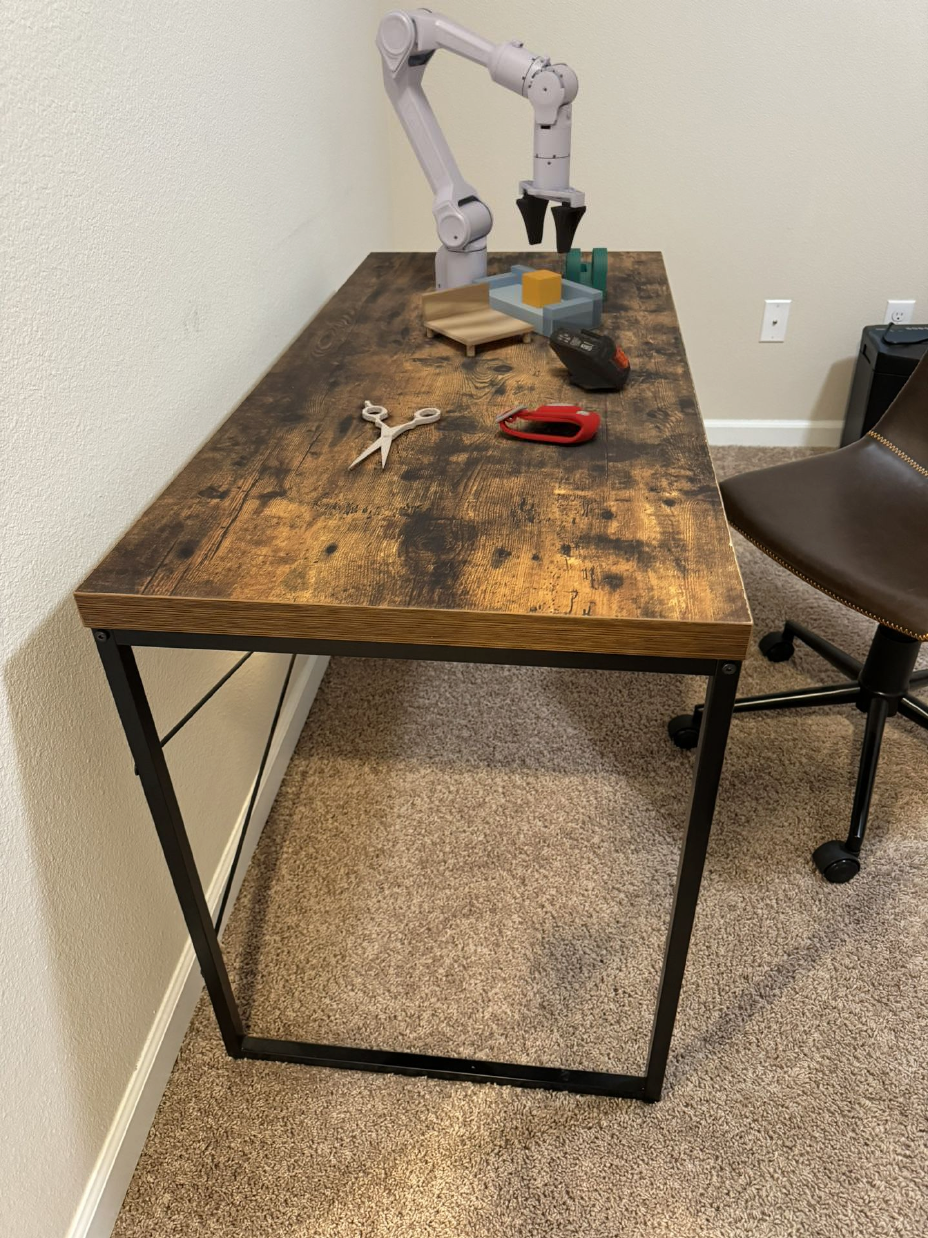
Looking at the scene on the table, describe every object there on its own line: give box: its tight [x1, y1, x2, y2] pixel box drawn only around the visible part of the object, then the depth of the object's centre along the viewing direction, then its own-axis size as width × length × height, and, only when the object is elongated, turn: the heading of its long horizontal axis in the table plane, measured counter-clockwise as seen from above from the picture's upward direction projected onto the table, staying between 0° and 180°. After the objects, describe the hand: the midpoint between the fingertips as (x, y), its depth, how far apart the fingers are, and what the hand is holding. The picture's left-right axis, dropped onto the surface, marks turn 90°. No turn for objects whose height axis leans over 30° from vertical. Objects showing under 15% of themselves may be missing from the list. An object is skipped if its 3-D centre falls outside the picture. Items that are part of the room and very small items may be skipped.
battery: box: [548, 326, 632, 391], centre depth 124 cm, size 12×8×7 cm
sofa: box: [472, 263, 603, 339], centre depth 150 cm, size 22×10×6 cm, turn 33°
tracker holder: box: [494, 402, 601, 444], centre depth 111 cm, size 12×4×10 cm
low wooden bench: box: [421, 281, 534, 358], centre depth 141 cm, size 13×12×6 cm
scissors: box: [348, 400, 441, 469], centre depth 112 cm, size 11×1×20 cm
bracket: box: [562, 247, 608, 302], centre depth 163 cm, size 18×7×8 cm, turn 177°
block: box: [522, 269, 563, 309], centre depth 146 cm, size 4×4×4 cm
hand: (549, 248), depth 149 cm, fingers open, 7 cm apart
